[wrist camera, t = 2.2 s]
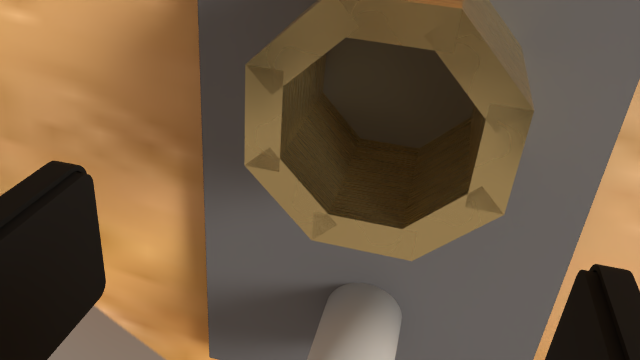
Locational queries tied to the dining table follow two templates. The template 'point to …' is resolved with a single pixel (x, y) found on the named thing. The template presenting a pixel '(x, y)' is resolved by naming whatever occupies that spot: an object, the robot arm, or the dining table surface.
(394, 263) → the piston stand
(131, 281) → the dining table surface
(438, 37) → the brass ring
